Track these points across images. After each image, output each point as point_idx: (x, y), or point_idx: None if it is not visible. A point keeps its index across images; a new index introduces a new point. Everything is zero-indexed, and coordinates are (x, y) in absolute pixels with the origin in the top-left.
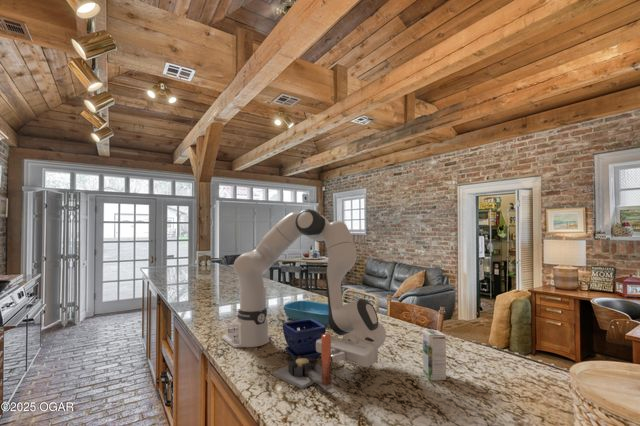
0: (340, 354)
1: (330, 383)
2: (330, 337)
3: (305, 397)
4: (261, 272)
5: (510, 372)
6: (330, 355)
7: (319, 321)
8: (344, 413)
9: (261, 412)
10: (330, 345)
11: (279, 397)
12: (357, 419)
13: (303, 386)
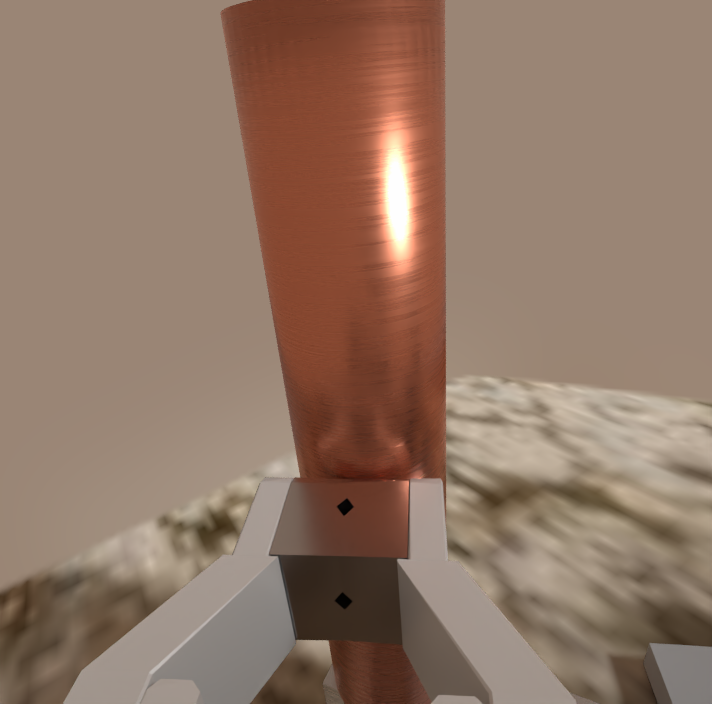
0: (152, 618)
1: (334, 675)
2: (229, 58)
3: (496, 577)
4: None
5: None
6: (287, 399)
7: None
8: (139, 583)
9: (534, 383)
10: (260, 237)
11: (619, 484)
12: (41, 579)
13: (651, 663)
